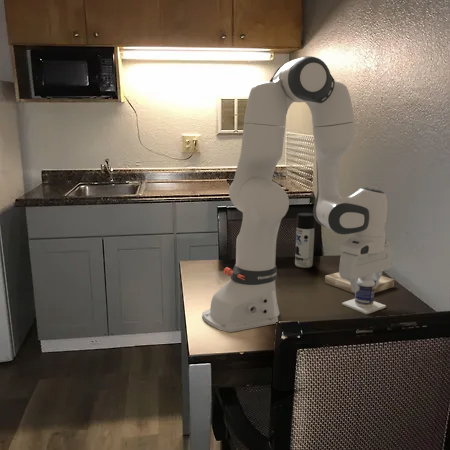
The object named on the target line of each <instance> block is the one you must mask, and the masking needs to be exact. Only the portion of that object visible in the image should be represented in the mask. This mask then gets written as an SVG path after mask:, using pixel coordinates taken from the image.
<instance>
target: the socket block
mask: <svg viewBox="0 0 450 450" xmlns="http://www.w3.org/2000/svg"><path fill="white" fill-rule="evenodd" d="M374 274H375V273H374ZM374 274H373V276H374ZM358 279H359V278H358ZM324 283H325V284H328V285H331V286H333V287H336V288H338V289H341V290H343V291H346V292H348V293H349V292H350V293H352V294H354V295H355V292H353V291H351V286H352V285H351V283H350V281H349V280H346V279H343V278H341V276H340V274H339V271H338V272H335V273H330V274H327V275H325V276H324ZM394 286H395V279H394V278H390V277H387V276H385V275H381V277H380V279H379V285H377V286H375V290H374V294H376V293H379V292H382V291H386V290H388V289H391V288H394Z"/></svg>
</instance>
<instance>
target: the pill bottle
mask: <svg viewBox="0 0 450 450" xmlns="http://www.w3.org/2000/svg"><path fill="white" fill-rule="evenodd" d="M372 279H373V274H371V275H367V276H364V277H360V278H359V279H358V281H357V285H358V286H360V288H359V291H358V292H355V294H354V295H355V296H354V299H355V304H356V305H358V306H362V307H371V306H372V305H373V302H374V301H375V300H374V299H375V293H374V290H375V282H374V280H372Z"/></svg>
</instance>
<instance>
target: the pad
mask: <svg viewBox="0 0 450 450" xmlns="http://www.w3.org/2000/svg"><path fill="white" fill-rule="evenodd" d="M341 305H342V306H345V307H348V308H350V309H353V310H354V311H357V312H358V313H359V312H360V313H362V314H364V315H369V314H371V313H374V312H377V311H380V310H383V309H385V308H386V307H387V305H386V304H382V303H380V302H377V301H375V300H374V302H373V305H372V306H371V307H362V306H358V305H356V304H355V298H352V299H349V300H346V301H344V302H341Z"/></svg>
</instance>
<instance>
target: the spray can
mask: <svg viewBox="0 0 450 450" xmlns="http://www.w3.org/2000/svg"><path fill="white" fill-rule="evenodd" d="M296 218H297V219H296V234H295V257H294V258H295V259H294V264H295V265H294V266H296V267H297V268H302V269H309V268H312V267H313V263H314V262H313V261H314V247H315V246H314V245H315V227H316V226H315V225H316V224H315V223H316V220H315V218H314V215H313V212H312V213H311V212H299V213H297V215H296Z"/></svg>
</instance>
